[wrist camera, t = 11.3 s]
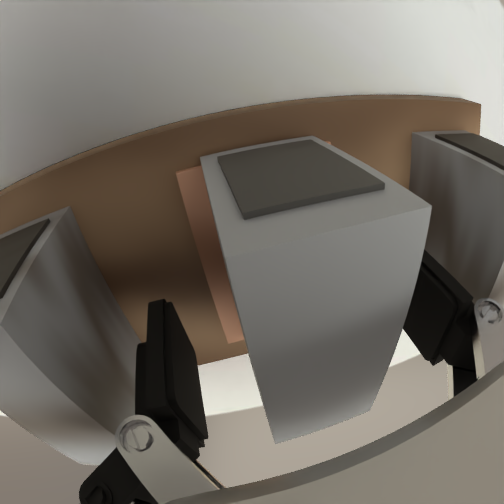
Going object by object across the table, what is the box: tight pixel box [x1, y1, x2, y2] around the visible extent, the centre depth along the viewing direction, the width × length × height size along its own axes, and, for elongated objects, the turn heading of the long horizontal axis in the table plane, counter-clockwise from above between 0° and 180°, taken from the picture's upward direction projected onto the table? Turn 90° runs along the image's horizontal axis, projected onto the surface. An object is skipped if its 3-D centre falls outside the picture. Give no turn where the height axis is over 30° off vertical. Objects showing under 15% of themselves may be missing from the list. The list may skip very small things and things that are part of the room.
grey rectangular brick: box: [200, 136, 432, 444], centre depth 10 cm, size 9×4×6 cm, turn 9°
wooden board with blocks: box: [0, 95, 504, 465], centre depth 11 cm, size 12×25×8 cm, turn 99°
